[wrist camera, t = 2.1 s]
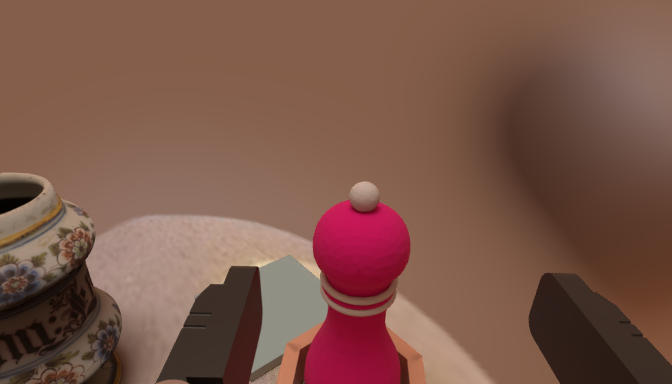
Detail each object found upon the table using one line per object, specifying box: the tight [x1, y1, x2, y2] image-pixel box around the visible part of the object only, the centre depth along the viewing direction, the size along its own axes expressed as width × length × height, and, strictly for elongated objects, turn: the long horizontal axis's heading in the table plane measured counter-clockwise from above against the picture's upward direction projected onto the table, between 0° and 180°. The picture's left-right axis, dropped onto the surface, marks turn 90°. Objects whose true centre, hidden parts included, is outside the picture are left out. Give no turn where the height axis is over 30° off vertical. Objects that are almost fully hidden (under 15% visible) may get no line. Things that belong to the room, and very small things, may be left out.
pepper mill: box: [304, 182, 410, 384], centre depth 26 cm, size 7×7×20 cm
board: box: [194, 255, 328, 382], centre depth 40 cm, size 12×12×1 cm
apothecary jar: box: [0, 173, 122, 384], centre depth 27 cm, size 12×12×18 cm
